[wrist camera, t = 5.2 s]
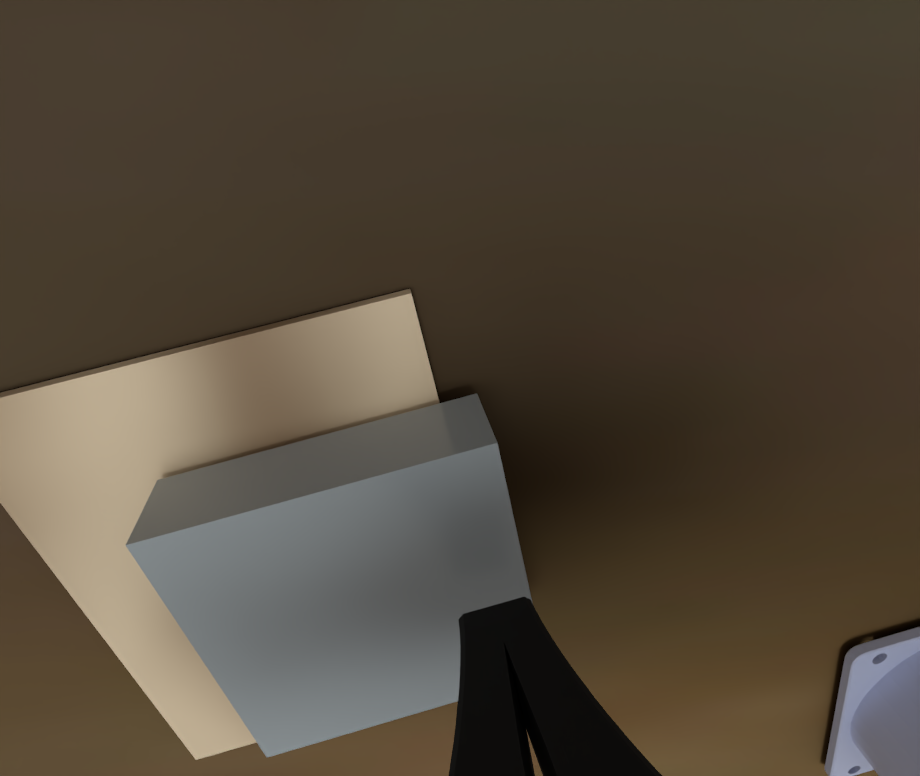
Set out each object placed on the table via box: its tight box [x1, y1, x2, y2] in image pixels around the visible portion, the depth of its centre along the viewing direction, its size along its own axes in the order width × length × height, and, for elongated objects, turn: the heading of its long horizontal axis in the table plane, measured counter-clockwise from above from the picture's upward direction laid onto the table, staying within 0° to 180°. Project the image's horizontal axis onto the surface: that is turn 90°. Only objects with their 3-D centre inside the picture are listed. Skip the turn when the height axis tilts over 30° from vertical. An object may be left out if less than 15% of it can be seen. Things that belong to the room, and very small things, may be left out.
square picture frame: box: [126, 393, 533, 757], centre depth 13 cm, size 2×7×7 cm
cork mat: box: [0, 289, 440, 760], centre depth 14 cm, size 9×12×1 cm
